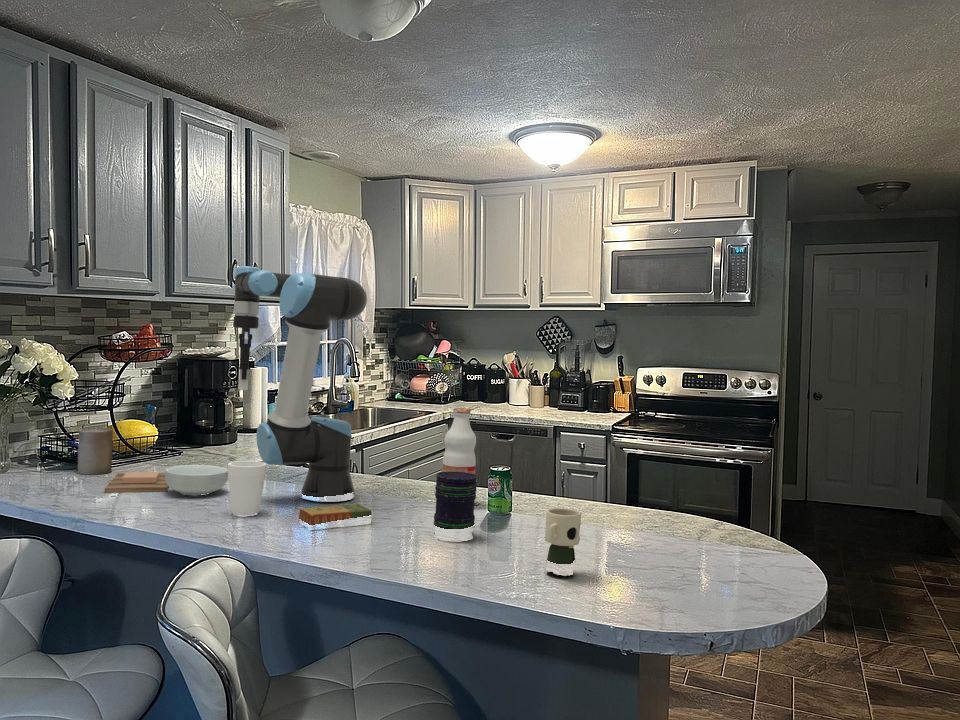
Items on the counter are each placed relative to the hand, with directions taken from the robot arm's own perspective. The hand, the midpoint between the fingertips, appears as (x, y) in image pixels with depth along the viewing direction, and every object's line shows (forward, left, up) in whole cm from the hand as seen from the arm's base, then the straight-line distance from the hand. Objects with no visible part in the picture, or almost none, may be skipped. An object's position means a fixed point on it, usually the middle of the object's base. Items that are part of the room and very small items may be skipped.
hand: (243, 389), depth 227 cm
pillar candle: (+15, +44, -29) cm, 54 cm away
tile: (-2, +28, -27) cm, 38 cm away
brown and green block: (-60, -23, -29) cm, 70 cm away
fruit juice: (-43, -59, -29) cm, 79 cm away
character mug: (-107, -62, -29) cm, 127 cm away
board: (-5, +28, -29) cm, 40 cm away
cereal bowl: (-20, +12, -29) cm, 37 cm away
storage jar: (-76, -49, -29) cm, 94 cm away
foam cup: (-47, -1, -29) cm, 55 cm away
